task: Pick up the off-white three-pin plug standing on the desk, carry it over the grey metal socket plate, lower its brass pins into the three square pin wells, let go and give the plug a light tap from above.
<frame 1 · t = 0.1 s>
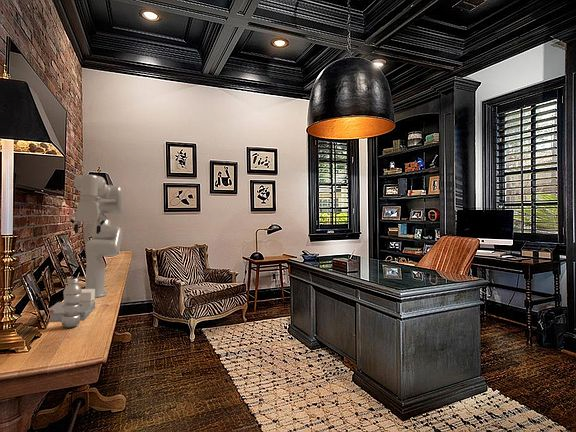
hand: (87, 233, 179), 37 cm above the table, tool pointing down, fingers open, 9 cm apart
plastic bottle: (70, 327, 147), on the table
socket: (70, 314, 164), on the table
plug: (85, 306, 179), on the table
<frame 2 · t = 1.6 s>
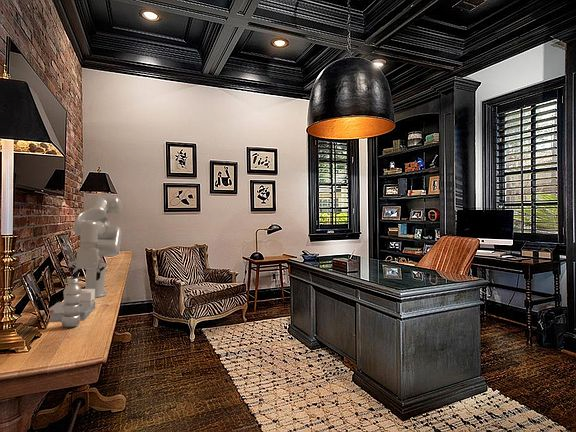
hand: (86, 280, 179), 13 cm above the table, tool pointing down, fingers open, 9 cm apart
nothing on the table moved.
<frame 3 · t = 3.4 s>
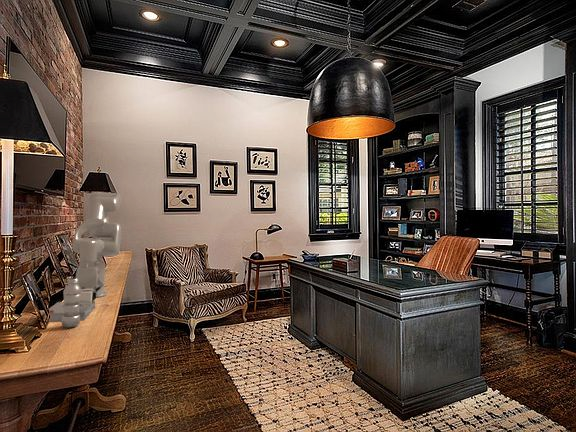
hand: (86, 299, 179), 3 cm above the table, tool pointing down, fingers closed on plug, 6 cm apart
plug: (85, 306, 179), on the table, touching gripper
everything else where it was.
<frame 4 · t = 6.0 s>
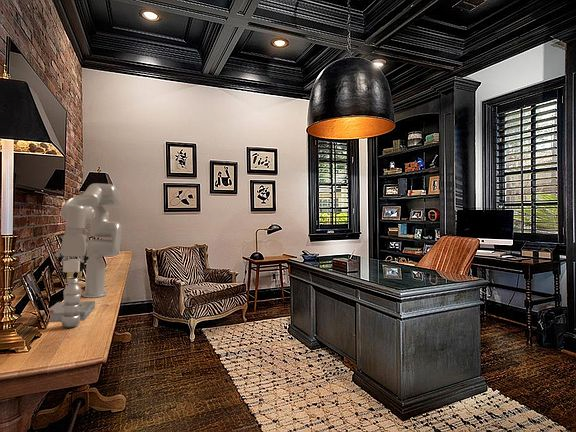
hand: (73, 270, 164), 20 cm above the table, tool pointing down, fingers closed on plug, 6 cm apart
plug: (72, 277, 164), point 17 cm above the table, touching gripper
everything else where it was.
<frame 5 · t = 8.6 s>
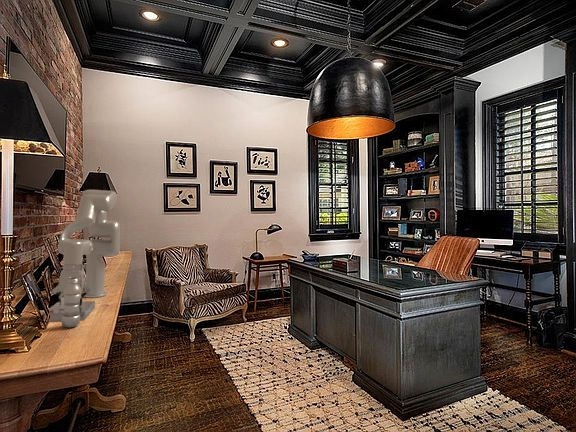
hand: (70, 306, 164), 4 cm above the table, tool pointing down, fingers closed on plug, 6 cm apart
plug: (70, 313, 164), point 1 cm above the table, touching gripper
everything else where it was.
when the fingers open (4 cm above the table, at t = 8.6 s): plug stays where it is, resting on socket.
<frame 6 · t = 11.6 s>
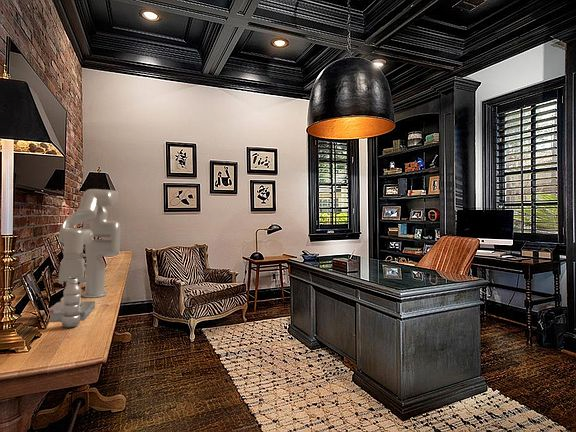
hand: (71, 296, 164), 8 cm above the table, tool pointing down, fingers closed
plug: (70, 313, 164), resting on socket
everything else where it was.
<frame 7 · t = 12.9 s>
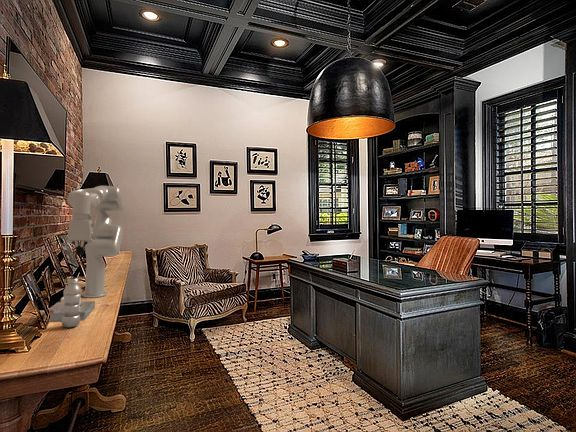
hand: (79, 254, 174), 26 cm above the table, tool pointing down, fingers closed
nothing on the table moved.
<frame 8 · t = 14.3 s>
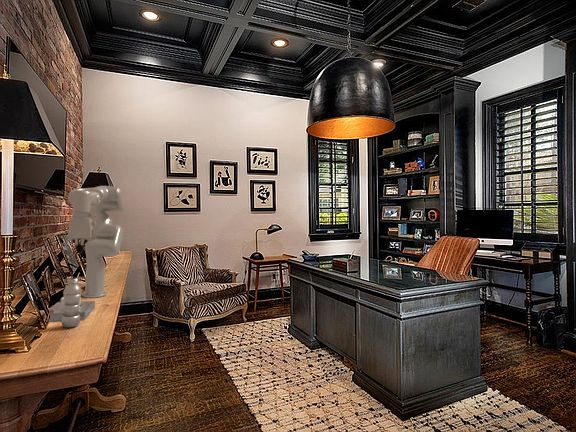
hand: (79, 253, 174), 27 cm above the table, tool pointing down, fingers closed
nothing on the table moved.
at the end: plug 0.0 cm off-centre on the socket, point 0.5 cm above the socket's base; plug tilted 0°; the gripper is holding nothing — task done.
